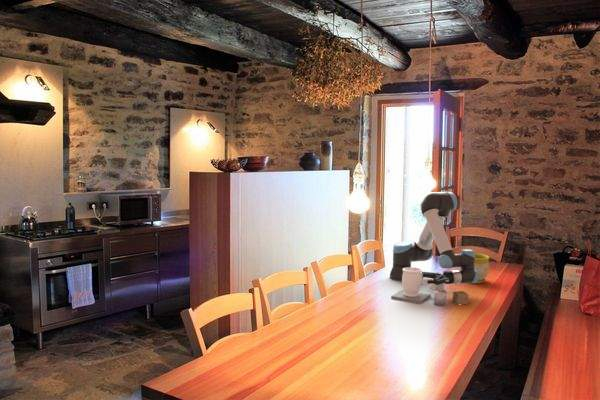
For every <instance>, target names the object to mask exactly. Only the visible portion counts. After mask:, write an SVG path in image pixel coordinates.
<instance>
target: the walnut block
mask: <svg viewBox="0 0 600 400" xmlns="http://www.w3.org/2000/svg"><path fill="white" fill-rule="evenodd" d="M469 296H470V295H469V293H467V292H465V291H464V290H461V291H460V290H459V291H452V303H453V302H454V303H453V304H455V303H456V304H458V305H457V306H460V305H459V304H468V305H469ZM456 304H455V305H456Z"/></svg>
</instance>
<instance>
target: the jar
mask: <svg viewBox="0 0 600 400" xmlns="http://www.w3.org/2000/svg"><path fill="white" fill-rule="evenodd" d="M422 270H423V269H421V268H419V267H412V266H411V267H407V268H403V275H402V281H401V282H402V284H401V285H402V290H404V295H405V296H408V297H417V296H419V294H418V292H419V293H420V290H421V285H422V284H421V279H422V278H421V273H422V272H423V271H422Z"/></svg>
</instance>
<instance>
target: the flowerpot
mask: <svg viewBox="0 0 600 400" xmlns="http://www.w3.org/2000/svg"><path fill="white" fill-rule="evenodd" d="M489 262H490V256H489V255H487V254H484V253H483V254H482V253H476V252H475V265H474V269H475V270H477V271H478V275H479V280H478V281H477V282H476V283H475V284H482V283H481V282H483V283H484V282H485V281H486V278H487V276H488V275H489V271H490V269H489V268H490V265H489ZM458 268H459V270H461V267H458Z"/></svg>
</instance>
